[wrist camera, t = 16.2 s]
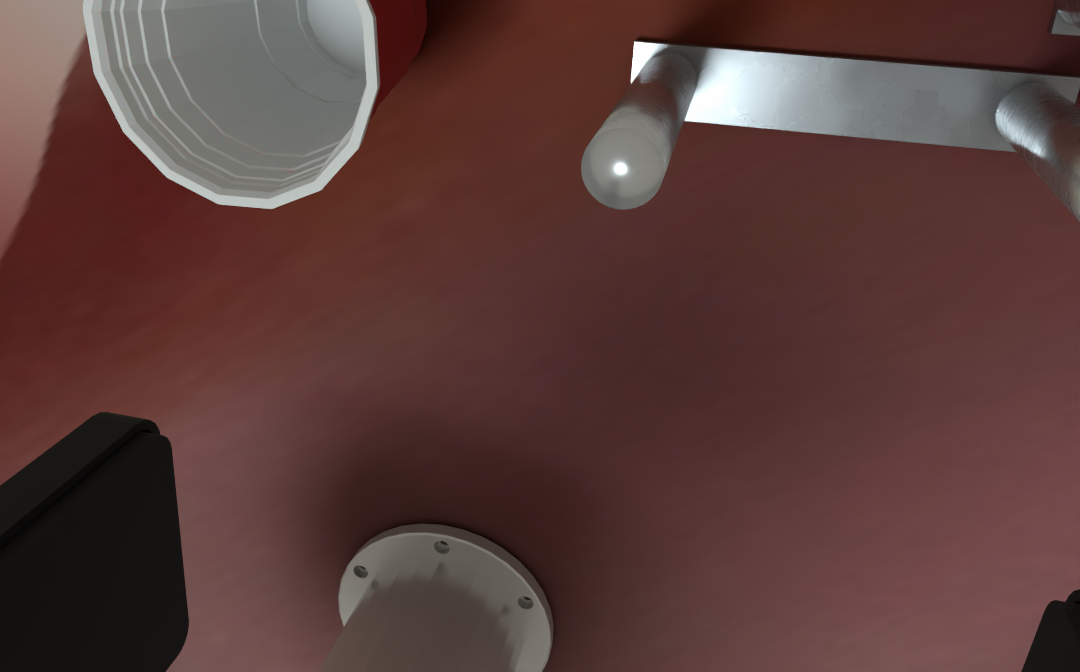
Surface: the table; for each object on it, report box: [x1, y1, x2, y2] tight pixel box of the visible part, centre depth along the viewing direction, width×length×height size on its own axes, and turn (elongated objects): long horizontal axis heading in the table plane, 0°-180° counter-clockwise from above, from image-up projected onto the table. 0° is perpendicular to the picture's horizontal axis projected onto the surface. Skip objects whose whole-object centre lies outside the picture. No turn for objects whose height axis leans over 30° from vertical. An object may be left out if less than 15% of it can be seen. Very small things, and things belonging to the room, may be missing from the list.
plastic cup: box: [83, 0, 427, 209], centre depth 36 cm, size 11×11×12 cm
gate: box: [581, 40, 1080, 222], centre depth 32 cm, size 3×17×14 cm, turn 87°
